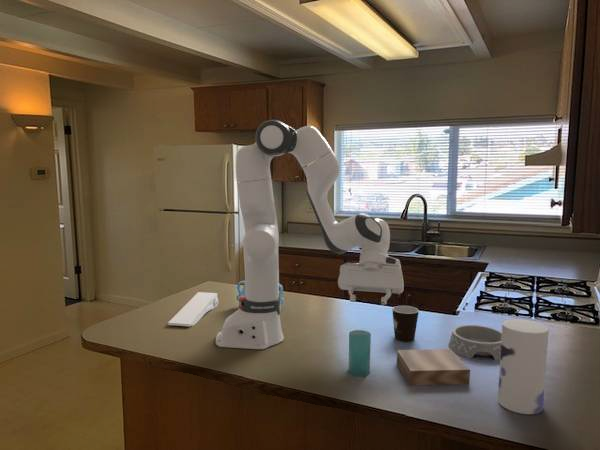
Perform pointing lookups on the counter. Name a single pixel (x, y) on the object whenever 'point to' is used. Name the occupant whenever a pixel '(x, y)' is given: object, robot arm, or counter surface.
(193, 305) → the white curved piece
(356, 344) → the teal rounded cylinder
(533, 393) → the container
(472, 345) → the dog bowl
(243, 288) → the blue figurine
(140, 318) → the counter surface
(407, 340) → the coffee mug
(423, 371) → the wavy tan tile
